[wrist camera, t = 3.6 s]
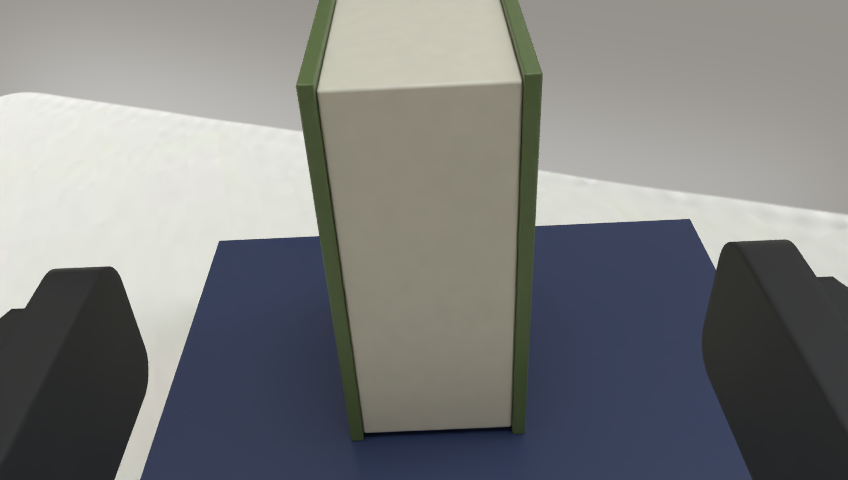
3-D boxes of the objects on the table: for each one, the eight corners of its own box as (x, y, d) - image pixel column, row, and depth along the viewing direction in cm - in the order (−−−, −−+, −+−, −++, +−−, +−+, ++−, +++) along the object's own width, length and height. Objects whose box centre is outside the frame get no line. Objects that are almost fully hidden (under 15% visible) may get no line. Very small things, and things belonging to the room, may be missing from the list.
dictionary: (502, 288, 30) (509, -29, 22) (525, 434, 24) (543, 72, 17) (362, 294, 30) (323, -19, 22) (351, 441, 24) (295, 85, 17)
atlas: (679, 273, 34) (689, 218, 33) (825, 599, 22) (854, 540, 21) (232, 294, 35) (218, 240, 33) (139, 626, 23) (109, 570, 21)
